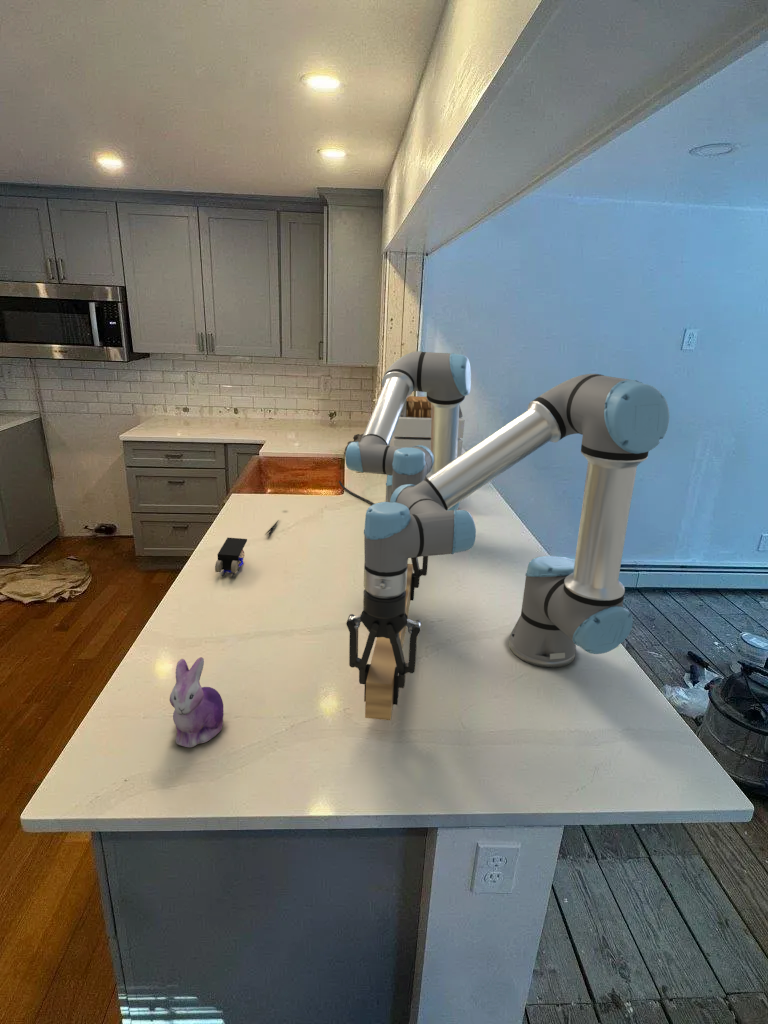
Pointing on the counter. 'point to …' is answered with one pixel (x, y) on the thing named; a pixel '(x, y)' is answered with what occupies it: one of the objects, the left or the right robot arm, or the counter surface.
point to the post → (384, 670)
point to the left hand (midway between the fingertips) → (401, 596)
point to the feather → (272, 529)
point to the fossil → (356, 439)
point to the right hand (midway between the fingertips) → (381, 698)
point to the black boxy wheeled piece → (230, 556)
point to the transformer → (419, 425)
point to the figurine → (195, 706)
